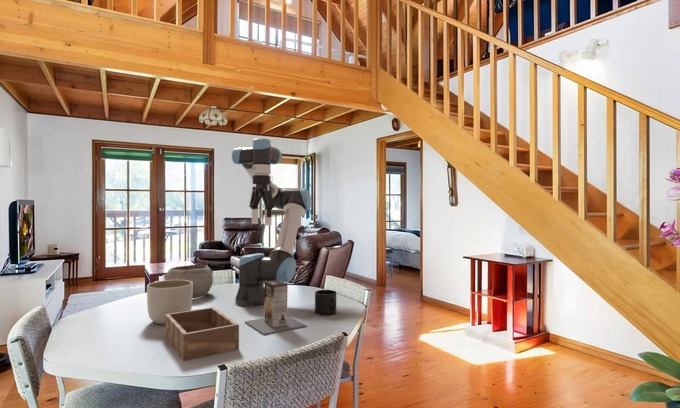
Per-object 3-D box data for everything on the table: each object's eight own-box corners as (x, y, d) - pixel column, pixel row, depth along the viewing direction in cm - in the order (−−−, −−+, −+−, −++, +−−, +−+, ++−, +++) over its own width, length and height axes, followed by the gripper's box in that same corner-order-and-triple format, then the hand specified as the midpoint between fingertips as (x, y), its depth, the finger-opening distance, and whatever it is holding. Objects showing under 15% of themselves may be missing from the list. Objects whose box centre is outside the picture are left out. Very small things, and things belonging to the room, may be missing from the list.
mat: (244, 322, 159) (244, 321, 159) (285, 315, 169) (285, 314, 169) (263, 335, 144) (263, 333, 144) (306, 326, 154) (306, 325, 154)
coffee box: (263, 321, 158) (263, 281, 158) (278, 319, 162) (278, 279, 162) (272, 327, 151) (273, 285, 151) (288, 325, 154) (288, 283, 154)
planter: (136, 324, 155) (136, 286, 155) (169, 313, 171) (169, 278, 171) (171, 329, 150) (171, 289, 149) (201, 317, 165) (201, 281, 165)
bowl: (202, 289, 220) (202, 261, 220) (220, 296, 203) (221, 267, 203) (158, 295, 204) (158, 266, 204) (175, 304, 187) (175, 272, 187)
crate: (164, 336, 142) (165, 314, 142) (213, 327, 152) (213, 307, 152) (183, 360, 121) (183, 334, 121) (238, 348, 131) (239, 324, 131)
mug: (326, 318, 166) (326, 296, 166) (310, 311, 175) (310, 291, 175) (344, 314, 171) (344, 293, 171) (328, 308, 181) (328, 288, 181)
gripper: (242, 176, 178) (241, 223, 178) (265, 173, 158) (265, 226, 158) (257, 176, 182) (257, 223, 182) (282, 173, 162) (282, 225, 162)
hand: (261, 224), depth 170 cm, fingers open, 13 cm apart
